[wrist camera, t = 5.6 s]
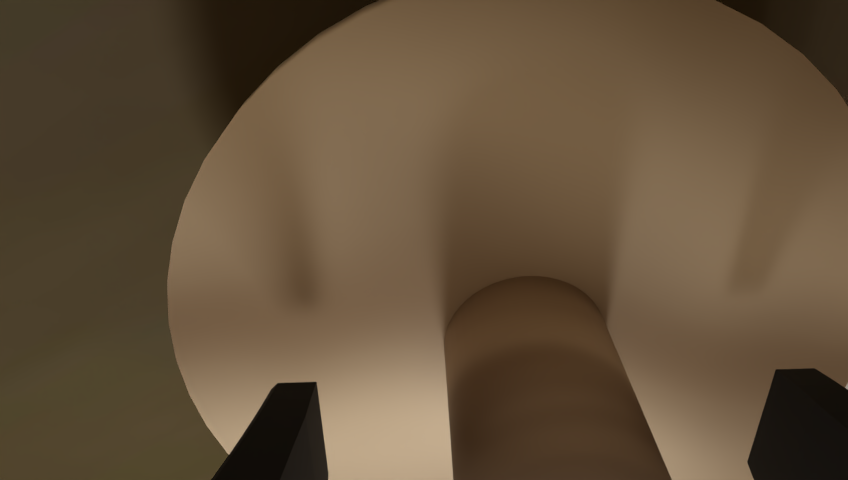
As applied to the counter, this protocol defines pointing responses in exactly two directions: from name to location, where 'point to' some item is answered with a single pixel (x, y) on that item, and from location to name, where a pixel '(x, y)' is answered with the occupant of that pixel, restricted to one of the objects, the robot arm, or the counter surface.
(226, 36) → the counter surface
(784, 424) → the robot arm
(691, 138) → the lid
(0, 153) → the counter surface
